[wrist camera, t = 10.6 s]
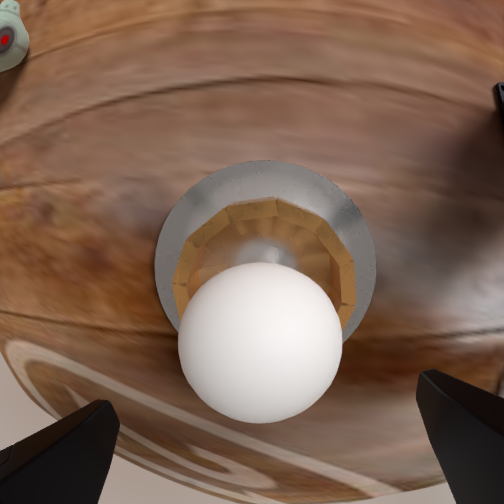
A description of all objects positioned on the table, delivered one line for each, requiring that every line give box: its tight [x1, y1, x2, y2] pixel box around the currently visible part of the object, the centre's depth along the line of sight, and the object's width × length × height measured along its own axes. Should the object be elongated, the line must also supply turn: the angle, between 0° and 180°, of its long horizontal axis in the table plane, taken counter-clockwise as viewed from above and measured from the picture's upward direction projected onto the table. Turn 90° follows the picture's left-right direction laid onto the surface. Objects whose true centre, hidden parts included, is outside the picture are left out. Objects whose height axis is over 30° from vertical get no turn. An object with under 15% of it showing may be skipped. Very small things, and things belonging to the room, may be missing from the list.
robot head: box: [0, 0, 30, 72], centre depth 14 cm, size 8×4×7 cm, turn 158°
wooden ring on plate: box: [155, 160, 376, 344], centre depth 18 cm, size 14×14×4 cm
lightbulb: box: [178, 262, 342, 423], centre depth 14 cm, size 6×6×11 cm
